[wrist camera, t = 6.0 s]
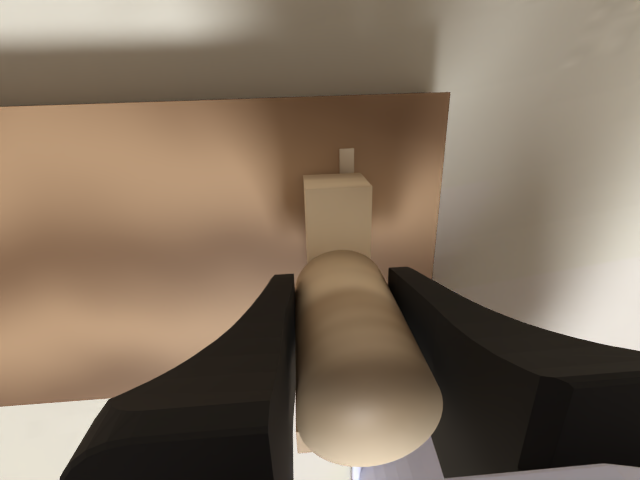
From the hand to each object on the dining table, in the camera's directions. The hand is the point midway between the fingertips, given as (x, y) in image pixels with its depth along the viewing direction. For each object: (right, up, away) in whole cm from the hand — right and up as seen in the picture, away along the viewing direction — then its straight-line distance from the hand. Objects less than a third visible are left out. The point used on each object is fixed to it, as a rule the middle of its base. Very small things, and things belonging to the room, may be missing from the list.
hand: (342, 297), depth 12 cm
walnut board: (-6, +1, +4) cm, 8 cm away
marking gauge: (0, 0, +5) cm, 5 cm away
